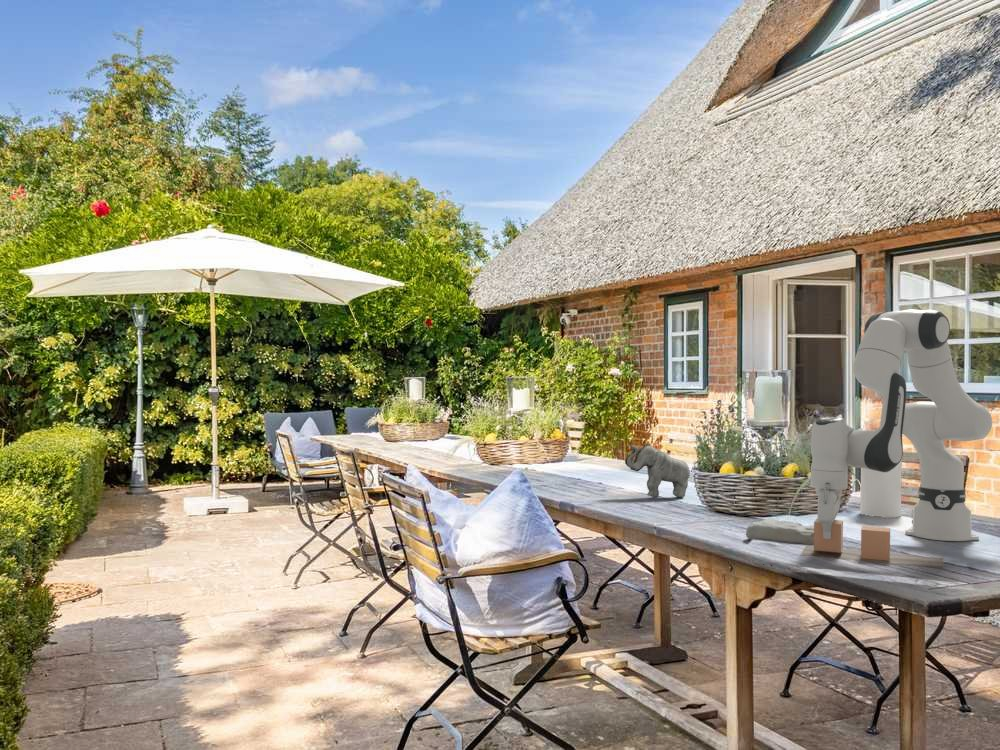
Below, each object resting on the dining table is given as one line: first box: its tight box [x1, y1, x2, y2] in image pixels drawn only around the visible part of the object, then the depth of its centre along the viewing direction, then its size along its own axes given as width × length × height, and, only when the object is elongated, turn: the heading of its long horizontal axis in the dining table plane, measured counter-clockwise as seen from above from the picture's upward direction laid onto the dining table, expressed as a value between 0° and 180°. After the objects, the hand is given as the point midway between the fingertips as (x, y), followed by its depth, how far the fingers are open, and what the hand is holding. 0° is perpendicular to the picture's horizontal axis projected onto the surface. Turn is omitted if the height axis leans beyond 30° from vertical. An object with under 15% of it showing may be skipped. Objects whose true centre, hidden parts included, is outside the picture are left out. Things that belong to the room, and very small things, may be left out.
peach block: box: [813, 518, 844, 553], centre depth 216 cm, size 6×6×7 cm
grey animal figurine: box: [624, 444, 691, 499], centre depth 322 cm, size 25×9×20 cm, turn 100°
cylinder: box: [859, 458, 903, 518], centre depth 288 cm, size 12×12×25 cm
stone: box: [745, 518, 814, 545], centre depth 238 cm, size 21×15×5 cm
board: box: [800, 545, 945, 570], centre depth 212 cm, size 13×32×1 cm, turn 65°
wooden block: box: [860, 525, 891, 561], centre depth 212 cm, size 6×6×7 cm
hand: (828, 535), depth 217 cm, fingers closed on peach block, 6 cm apart
